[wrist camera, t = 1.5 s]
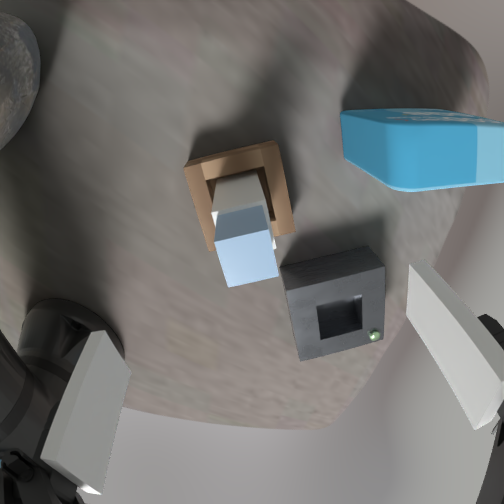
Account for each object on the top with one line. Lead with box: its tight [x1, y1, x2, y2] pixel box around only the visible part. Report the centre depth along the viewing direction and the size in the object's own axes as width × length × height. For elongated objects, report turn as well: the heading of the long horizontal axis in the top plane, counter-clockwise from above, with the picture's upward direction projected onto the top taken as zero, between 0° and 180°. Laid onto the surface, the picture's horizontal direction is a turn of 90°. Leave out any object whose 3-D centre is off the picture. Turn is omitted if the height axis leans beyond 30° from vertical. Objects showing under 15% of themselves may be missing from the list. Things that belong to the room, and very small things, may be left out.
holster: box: [183, 140, 296, 252], centre depth 29 cm, size 8×8×3 cm
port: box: [280, 246, 385, 361], centre depth 34 cm, size 10×10×5 cm
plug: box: [211, 169, 279, 287], centre depth 24 cm, size 4×4×13 cm
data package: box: [340, 108, 504, 192], centre depth 23 cm, size 12×4×12 cm, turn 99°
